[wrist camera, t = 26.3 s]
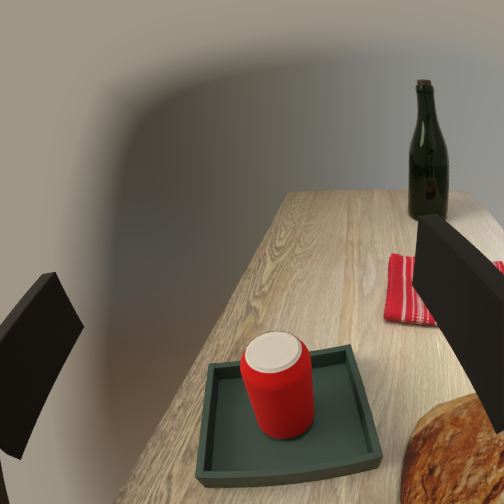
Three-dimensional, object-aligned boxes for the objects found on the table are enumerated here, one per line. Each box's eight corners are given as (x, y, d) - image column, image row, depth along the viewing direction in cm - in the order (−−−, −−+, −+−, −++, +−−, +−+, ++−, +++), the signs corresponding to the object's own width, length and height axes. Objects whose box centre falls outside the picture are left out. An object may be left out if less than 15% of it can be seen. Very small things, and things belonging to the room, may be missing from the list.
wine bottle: (452, 223, 62) (452, 80, 47) (413, 224, 65) (407, 78, 50) (439, 206, 71) (437, 80, 56) (404, 207, 74) (397, 79, 58)
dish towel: (389, 262, 55) (389, 249, 53) (502, 270, 44) (505, 258, 43) (379, 324, 42) (380, 310, 40) (522, 334, 31) (528, 321, 30)
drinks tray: (205, 487, 25) (194, 477, 23) (215, 379, 39) (208, 363, 37) (377, 468, 24) (383, 456, 22) (349, 361, 37) (350, 344, 36)
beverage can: (324, 408, 31) (322, 334, 25) (296, 451, 27) (285, 388, 21) (278, 390, 35) (262, 317, 29) (248, 429, 30) (221, 361, 25)
